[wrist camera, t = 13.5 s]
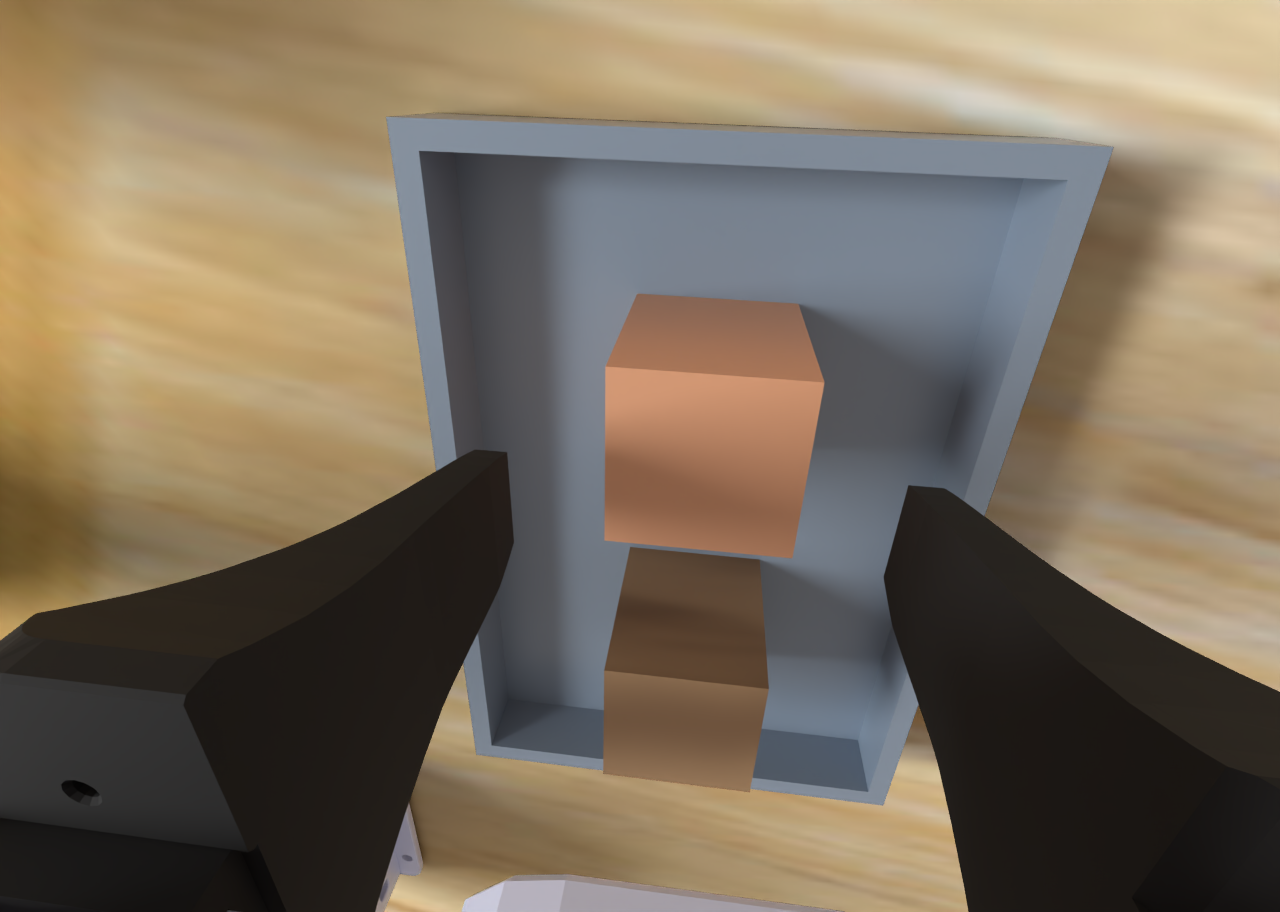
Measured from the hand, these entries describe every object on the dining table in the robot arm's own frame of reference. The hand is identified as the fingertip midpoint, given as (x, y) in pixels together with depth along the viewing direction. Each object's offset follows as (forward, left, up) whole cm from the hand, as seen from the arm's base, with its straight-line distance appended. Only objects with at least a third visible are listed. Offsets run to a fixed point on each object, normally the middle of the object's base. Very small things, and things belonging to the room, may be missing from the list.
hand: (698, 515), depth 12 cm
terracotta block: (0, 0, -6) cm, 6 cm away
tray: (-4, 0, -7) cm, 8 cm away
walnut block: (-8, 0, -6) cm, 10 cm away
